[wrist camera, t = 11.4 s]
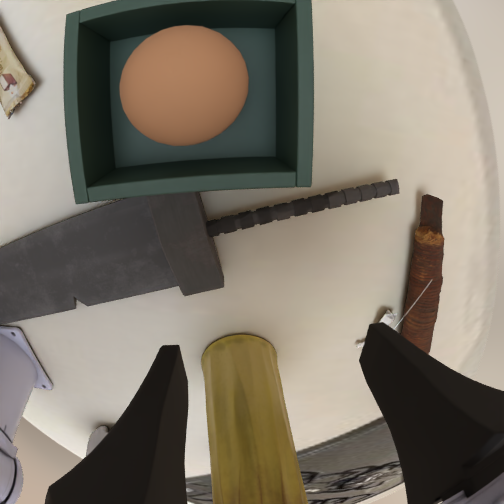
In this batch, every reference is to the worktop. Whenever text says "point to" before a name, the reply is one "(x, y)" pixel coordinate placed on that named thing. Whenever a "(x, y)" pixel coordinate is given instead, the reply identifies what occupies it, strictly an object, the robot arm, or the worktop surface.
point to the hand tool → (425, 276)
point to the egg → (184, 85)
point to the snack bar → (12, 78)
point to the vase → (249, 425)
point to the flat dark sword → (135, 250)
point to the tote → (206, 153)
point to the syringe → (387, 320)
